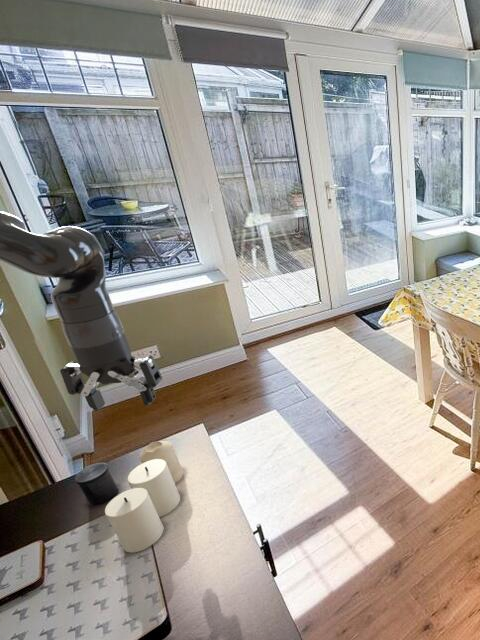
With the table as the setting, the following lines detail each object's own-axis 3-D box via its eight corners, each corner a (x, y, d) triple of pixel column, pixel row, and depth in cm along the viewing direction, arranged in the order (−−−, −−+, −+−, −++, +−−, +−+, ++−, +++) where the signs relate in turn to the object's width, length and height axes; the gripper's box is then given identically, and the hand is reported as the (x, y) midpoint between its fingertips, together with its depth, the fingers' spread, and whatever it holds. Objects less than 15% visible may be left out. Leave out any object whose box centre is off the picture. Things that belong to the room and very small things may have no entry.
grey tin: (82, 508, 85) (68, 484, 82) (97, 488, 89) (85, 464, 86) (110, 503, 86) (97, 480, 83) (124, 484, 90) (112, 460, 87)
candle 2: (137, 521, 83) (118, 482, 78) (153, 495, 88) (136, 457, 83) (172, 515, 84) (155, 477, 79) (185, 490, 89) (170, 453, 85)
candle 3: (116, 555, 76) (94, 515, 72) (134, 525, 82) (115, 486, 77) (154, 549, 78) (134, 509, 73) (169, 520, 83) (152, 481, 79)
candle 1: (189, 472, 93) (176, 439, 89) (165, 492, 89) (150, 458, 84) (170, 466, 95) (157, 433, 91) (145, 486, 90) (130, 452, 86)
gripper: (152, 323, 81) (175, 389, 87) (64, 328, 78) (95, 397, 84) (130, 343, 74) (156, 413, 81) (33, 349, 71) (68, 422, 77)
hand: (125, 405), depth 82 cm, fingers open, 8 cm apart
